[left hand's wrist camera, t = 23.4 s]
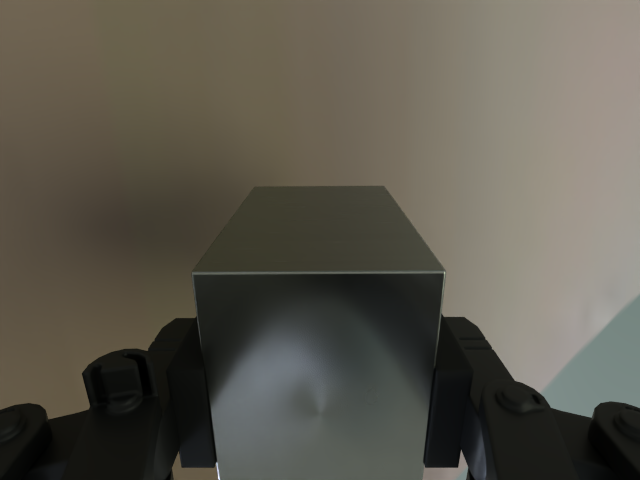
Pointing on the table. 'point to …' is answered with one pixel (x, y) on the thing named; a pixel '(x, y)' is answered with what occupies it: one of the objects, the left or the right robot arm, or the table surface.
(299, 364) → the brick
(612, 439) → the left robot arm
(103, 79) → the table surface
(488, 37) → the table surface
